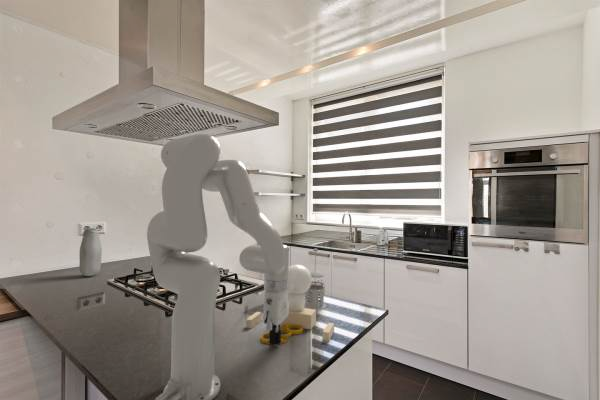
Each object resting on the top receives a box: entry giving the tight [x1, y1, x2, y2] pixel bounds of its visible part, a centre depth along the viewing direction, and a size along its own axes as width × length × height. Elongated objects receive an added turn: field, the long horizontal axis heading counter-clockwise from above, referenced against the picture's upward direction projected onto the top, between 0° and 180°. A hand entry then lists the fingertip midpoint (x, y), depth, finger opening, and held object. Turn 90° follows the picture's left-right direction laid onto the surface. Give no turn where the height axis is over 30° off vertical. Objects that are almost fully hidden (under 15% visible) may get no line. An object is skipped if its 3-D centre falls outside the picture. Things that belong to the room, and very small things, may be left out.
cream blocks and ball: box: [245, 263, 335, 343], centre depth 109 cm, size 16×30×22 cm, turn 71°
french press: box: [305, 248, 327, 311], centre depth 129 cm, size 10×12×25 cm
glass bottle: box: [79, 227, 103, 277], centre depth 173 cm, size 10×10×28 cm
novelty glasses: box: [260, 324, 304, 345], centre depth 101 cm, size 17×2×10 cm
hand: (275, 343), depth 93 cm, fingers closed
